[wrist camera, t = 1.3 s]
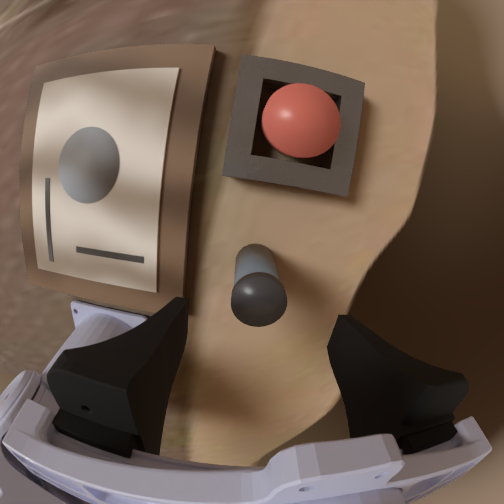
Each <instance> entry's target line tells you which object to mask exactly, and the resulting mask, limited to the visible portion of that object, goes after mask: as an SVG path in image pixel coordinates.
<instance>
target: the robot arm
mask: <svg viewBox="0 0 504 504" xmlns="http://www.w3.org/2000/svg"><path fill="white" fill-rule="evenodd" d="M188 307H189V298H182V297H175V298H173V299H172V300H171V301H170V302H169V303H167V304H166V305H165V306H164V307H163V308H161V309H160V310H159V311H158V312H156V313H155V314H154V315H153V316H151V317H150V318H147V317H146V316H143V315H138V314H133V313H128V312H123V311H119V310H114V309H110V308H105V307H101V306H96V305H92V304H88V303H84V302H80V301H76V300H74V301H72V302H71V309H72V314H73V319H74V323H75V328H76V329H75V330H74V331H73V333H72V334H71V335H70V336H69V338H68V339H67V340H66V341H65V343H64V344H63V345H62V347H61V348H60V349H59V351H58V352H57V353H56V355H55V356H54V357H53V359H52V360H51V361H50V363H49V364H48V366H47V367H46V368H45V370H44V371H43V372H42V374H41V375H40V376H39V374H38V373H37V372H36V371H34V370H32V371H26V370H24V371H22V372H21V373H20V374H19V375H18V376H17V377H16V378H15V379H14V380H13V381H12V382H11V383H10V384H9V385H8V387H7V388H6V389H5V390H4V392H3V393H2V394H1V396H0V504H410V503H412V502H414V501H416V500H418V499H420V498H423V497H425V496H426V495H428V494H431V493H433V492H434V491H436V490H438V489H440V488H442V487H444V486H446V485H447V484H449V483H451V482H453V481H455V480H456V479H458V478H460V477H461V476H463V475H464V474H465V473H466V472H468V471H469V470H470V469H471V468H472V467H473V466H475V465H476V464H477V463H478V462H479V461H481V460H482V459H483V458H484V457H485V456H486V455H487V454H488V453H489V452H490V451H491V450H492V447H491V446H490V444H489V442H488V440H487V439H486V437H485V436H484V434H483V432H482V431H481V429H480V427H479V426H478V424H477V423H476V421H475V420H474V418H473V417H469V418H467V419H465V420H462V421H460V422H458V423H457V424H455V425H454V424H453V423H452V421H453V419H454V418H455V417H454V415H453V413H452V412H453V411H454V410H455V409H456V407H457V406H458V405H459V404H460V402H461V401H462V399H463V398H464V397H465V395H466V393H467V391H468V388H469V382H468V381H467V379H466V378H465V377H464V375H463V374H461V373H458V372H453V371H449V370H444V369H442V368H438V367H435V366H432V365H429V364H427V363H424V362H422V361H420V360H417V359H415V358H413V357H411V356H409V355H407V354H406V353H404V352H402V351H400V350H398V349H397V348H395V347H394V346H392V345H390V344H389V343H388V342H386V341H385V340H383V339H382V338H381V337H379V336H378V335H376V334H375V333H374V332H372V331H371V330H370V329H368V328H367V327H366V326H365V325H363V324H362V323H361V322H359V321H358V320H356V319H355V318H353V317H352V316H350V315H338V318H337V321H336V324H335V327H334V329H333V332H332V335H331V337H330V340H329V343H328V345H327V350H328V355H329V360H330V364H331V367H332V370H333V373H334V376H335V378H336V381H337V384H338V386H339V389H340V392H341V395H342V397H343V401H344V404H345V409H346V414H347V418H348V425H349V432H350V439H342V440H333V441H323V442H311V443H304V444H298V445H294V446H292V447H289V448H286V449H283V450H281V451H280V452H278V453H277V454H276V455H275V456H274V457H272V458H271V459H270V461H269V463H268V464H267V466H266V467H244V466H227V465H216V464H207V463H199V462H192V461H185V460H179V459H174V458H168V457H163V456H159V453H160V445H161V438H162V432H163V426H164V420H165V414H166V409H167V404H168V399H169V394H170V391H171V387H172V384H173V381H174V378H175V375H176V372H177V370H178V367H179V364H180V361H181V358H182V355H183V352H184V348H185V344H186V339H187V334H188ZM76 310H77V311H76Z"/></svg>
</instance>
